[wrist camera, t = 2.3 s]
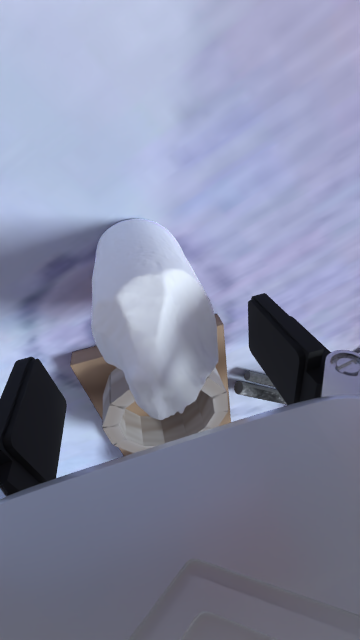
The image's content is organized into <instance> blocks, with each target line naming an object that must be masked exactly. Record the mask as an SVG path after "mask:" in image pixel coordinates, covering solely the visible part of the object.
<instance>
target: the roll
mask: <svg viewBox="0 0 360 640" xmlns="http://www.w3.org/2000/svg"><path fill="white" fill-rule="evenodd" d="M91 329H92V334H93V337H94V340H95V343H96V346H97V347H98V349H99V351H100V353H101V354H102V356H103V358H104V360H105V361H106V362H107V363H108V364H111V365H114V366H115V367H117V368H118V369H120V370H123V372H124V374H125V379H126V381H127V383H128V385H129V389H130V391H131V393H132V394H133V396H134V398H135V401H136V403H137V405H138V406H139V407H140V408H141V409H143V410H144V411H145V412H146V413H147V414H148V415H149V416H150V417H152V418H155V419H158V420H163V419H165V418H168V417H169V416H171V415H175V413H176V412H179V413H180V414H182V413H183V411H184V409H185V407H186V406H187V405H190V404H191V403H192V402H194V401H195V400H196V399H197V397H198V394H199V392H200V390H201V388H202V387H203V385H204V384H205V380H206V378H207V377H208V376H209V375H210V374H211V371H212V370H214V368H215V367H216V364H217V363H218V344H217V325H216V319H215V314H214V311H213V308H212V305H211V303H210V300H209V298H208V296H207V295H206V293H205V291H204V289H203V287H202V285H201V284H200V282H199V280H198V278H197V276H196V274H195V273H194V271H193V269H192V267H191V265H190V264H189V262H188V260H187V259H186V257H185V255H184V253H183V251H182V249H181V247H180V245H179V243H178V242H177V240H176V239H175V238H174V236H173V235H172V234H171V233H170V232H169V231H168V230H167V229H166V228H164V227H163V226H162V225H160V224H158V223H156V222H154V221H151V220H146V219H130V220H125V221H121V222H119V223H117V224H115V225H113V226H112V227H110V228H109V229H107V230H106V231H105V232H104V233H103V234H102V236H101V237H100V239H99V241H98V244H97V250H96V257H95V264H94V270H93V275H92V314H91Z"/></svg>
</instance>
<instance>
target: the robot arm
mask: <svg viewBox="0 0 360 640" xmlns="http://www.w3.org/2000/svg"><path fill="white" fill-rule="evenodd" d="M248 326H249V348H250V351H251V353H252V354H253V356H254V357H255V359H256V360H257V362H258V363H259V365H260V366H261V367H262V369H263V370H264V372H265V373H266V375H267V376H268V377H269V379H270V380H271V382H272V383H273V385H274V386H275V388H276V389H277V390H278V392H279V393H280V395H281V396H282V398H283V399H284V401H285V402H286V403H287V406H284V407H281V408H277V409H274V410H270V411H267V412H263V413H260V414H257V415H254V416H250V417H247V418H244V419H241V420H238V421H234V422H231V423H228V424H225V425H221V426H218V427H215V428H212V429H209V430H205V431H202V432H199V433H196V434H193V435H190V436H186V437H183V438H180V439H177V440H174V441H170V442H167V443H164V444H161V445H158V446H155V447H152V448H148V449H145V450H142V451H139V452H136V453H133V454H130V455H126V456H123V457H120V458H117V459H114V460H111V461H108V462H105V463H102V464H99V465H95V466H92V467H89V468H86V469H83V470H80V471H77V472H74V473H71V474H68V475H65V476H62V477H59V478H56V474H57V467H58V460H59V454H60V447H61V440H62V434H63V427H64V420H65V413H66V400H65V398H64V397H63V395H62V394H61V392H60V391H59V389H58V388H57V386H56V384H55V383H54V381H53V380H52V378H51V377H50V375H49V374H48V372H47V371H46V369H45V368H44V366H43V365H42V363H41V362H40V360H39V359H34V358H33V357H28V358H25V359H21V360H18V361H16V362H15V364H14V367H13V369H12V372H11V374H10V376H9V379H8V381H7V384H6V386H5V389H4V391H3V393H2V396H1V398H0V640H360V354H358V353H356V352H353V351H349V350H337V351H334V352H330V351H329V350H328V349H327V348H325V347H324V346H323V345H322V344H321V343H320V342H319V341H318V340H317V339H316V338H315V337H314V336H313V335H312V334H310V333H309V332H308V331H307V330H306V329H305V328H304V327H303V326H302V325H301V324H300V323H299V322H298V321H297V320H295V319H294V318H293V317H292V316H289V315H288V314H287V313H286V312H285V311H284V310H282V309H281V308H280V307H279V306H278V305H277V304H276V303H275V302H274V301H273V300H272V299H271V298H270V297H269V296H268V295H267V294H265V293H263V294H260V295H256V296H253V297H252V298H251V300H250V301H249V302H248Z"/></svg>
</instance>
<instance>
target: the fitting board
mask: <svg viewBox="0 0 360 640" xmlns="http://www.w3.org/2000/svg"><path fill="white" fill-rule="evenodd" d="M215 319H216V325H217V344H218V363H217V364H216V367H215V368H214V370H212V371H211V374H210V375H209V376H208V377H207V378H206V380H205V384H204V385H203V387H202V388H201V390H200V392H199V394H198V397H197V399H196V400H195V401H194V402H192V403H191V404H190V405H187V406H186V407H185V409H184V411H183V413H182V414H180V413H179V412H176V413H175V415H171V416H169V417H168V418H165V419H163V420H158V419H155V418H152V417H150V416H149V415H148V414H147V413H146V412H145V411H144V410H143V409H141V408H140V407H139V406H138V405H137V403H136V401H135V398H134V396H133V394H132V393H131V391H130V389H129V385H128V383H127V381H126V379H125V374H124V372H123V370H120V369H118V368H117V367H115V366H114V365H111V364H108V363H107V362H106V361H105V360H104V358H103V356H102V354H101V353H100V351H99V349H98V347H97V346H94V347H90V348H87V349H83V350H79V351H75V352H72V357H71V364H70V366H71V368H72V370H73V371H74V373H75V375H76V376H77V378H78V380H79V381H80V383H81V385H82V386H83V388H84V390H85V391H86V393H87V395H88V396H89V398H90V400H91V402H92V403H93V405H94V407H95V408H96V410H97V412H98V413H99V415H100V417H101V418H102V420H103V422H102V427H103V430H104V432H105V433H106V435H107V436H108V438H109V440H110V441H111V443H112V445H113V444H114V446H116V447H119V449H120V450H121V452H122V454H123V455H124V456H126V455H130V454H133V453H136V452H139V451H142V450H145V449H148V448H152V447H155V446H158V445H161V444H164V443H167V442H170V441H174V440H177V439H180V438H183V437H186V436H190V435H193V434H196V433H199V432H202V431H205V430H209V429H212V428H215V427H218V426H221V425H225V424H228V423H231V418H230V405H229V392H228V379H227V366H226V353H225V340H224V327H223V323H222V321H221V320H220V318H219V316H218V315H217V314H215Z"/></svg>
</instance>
